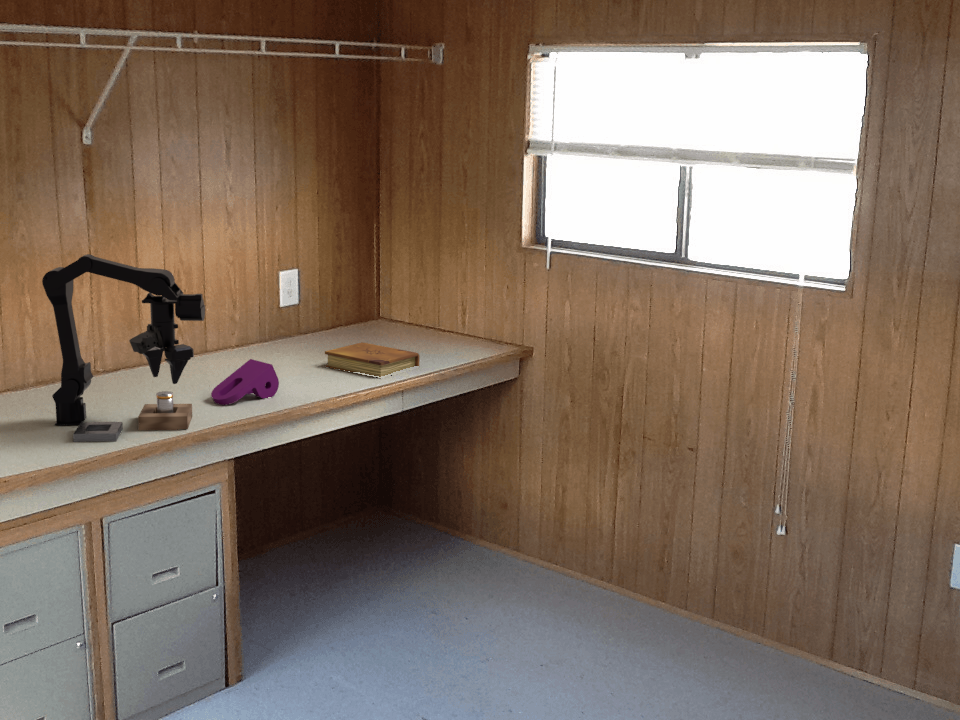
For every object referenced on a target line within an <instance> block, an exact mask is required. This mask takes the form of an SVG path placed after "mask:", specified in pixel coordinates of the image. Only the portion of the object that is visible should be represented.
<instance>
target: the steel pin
mask: <svg viewBox="0 0 960 720" xmlns="http://www.w3.org/2000/svg"><path fill="white" fill-rule="evenodd" d="M156 404H157V413H173V404H174V393H173V392H172V391H167V390H166V391H163V390H162V391H159V392H156Z"/></svg>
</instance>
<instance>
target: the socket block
mask: <svg viewBox="0 0 960 720" xmlns="http://www.w3.org/2000/svg"><path fill="white" fill-rule="evenodd" d="M192 419H193V403H173V413H157V403H145V404H144V405H143V407H142V408H141V410H140V412H139V414H138V416H137V424H138V431H180V430H179V429H189V426H190V424H191V422H192ZM177 429H178V430H177Z"/></svg>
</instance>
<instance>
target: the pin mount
mask: <svg viewBox="0 0 960 720" xmlns="http://www.w3.org/2000/svg"><path fill="white" fill-rule="evenodd" d="M123 423H124V422H123V421H89V422H88V421H87V422H81V423H80V425H77V427H76V429H75V430H74V432H73V434H72V438H73V439H72V441H73V443H80V442H81V443H88V442H89V443H90V442H91V441H92V442H93V443H95V442H97V443H98V442H117V440H118V439H119V437H120V436H121V434H120V433H122V432H121V431H124V428H123V425H124V424H123ZM85 441H87V442H85ZM92 442H91V443H92Z"/></svg>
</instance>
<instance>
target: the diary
mask: <svg viewBox="0 0 960 720" xmlns="http://www.w3.org/2000/svg"><path fill="white" fill-rule="evenodd" d="M324 355H327V364H326V365H325V366H326V367H330V368H329V369H331V368H335V369H340V370H345V371H350V372H360V373H365V374H369V375H374V376H379V377H381V376H385V375H388V374H391V373H393V372H396V371H400V370H403V369H406V368H410V367H414V366H419V367H420V354H419V352H416V351H409V350H404V349H399V348H395V347H389V346H384V345H378V344H373V343H368V342H358V343H354V344H350V345H349V344H348V345H346V346H342V347H338V348H334V349H329V350H324ZM326 367H325V368H326ZM335 369H334V370H335ZM340 370H339V371H340ZM345 371H344V372H345Z"/></svg>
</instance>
